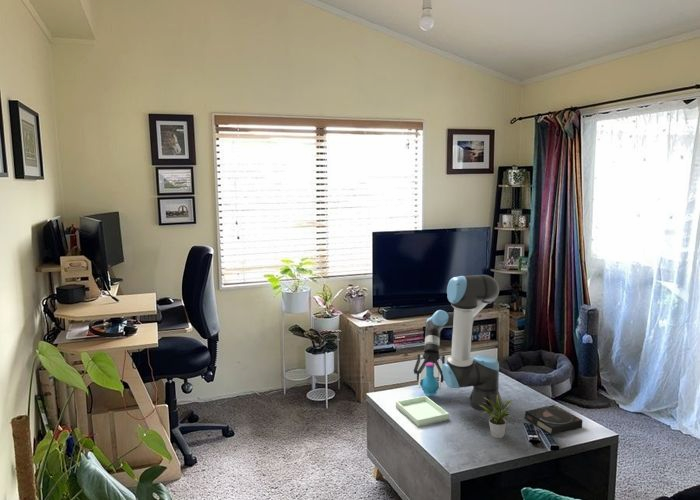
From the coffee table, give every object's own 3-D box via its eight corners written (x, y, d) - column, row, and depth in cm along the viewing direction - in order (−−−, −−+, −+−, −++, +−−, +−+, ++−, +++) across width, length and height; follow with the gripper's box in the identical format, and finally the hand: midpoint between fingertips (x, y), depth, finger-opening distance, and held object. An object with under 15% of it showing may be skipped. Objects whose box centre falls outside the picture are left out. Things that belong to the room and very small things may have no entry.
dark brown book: (524, 419, 232) (524, 411, 231) (554, 412, 238) (554, 404, 237) (550, 436, 216) (551, 427, 216) (582, 428, 222) (582, 420, 222)
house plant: (502, 423, 228) (503, 388, 225) (523, 437, 215) (524, 400, 213) (475, 429, 223) (475, 393, 220) (495, 444, 210) (495, 406, 207)
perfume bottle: (441, 395, 252) (441, 366, 250) (422, 396, 252) (422, 367, 250) (436, 388, 261) (436, 359, 259) (418, 389, 261) (418, 360, 259)
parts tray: (448, 419, 232) (448, 413, 232) (417, 426, 226) (417, 420, 226) (425, 401, 251) (425, 395, 251) (395, 407, 246) (395, 401, 245)
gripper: (453, 350, 266) (452, 392, 253) (411, 348, 272) (407, 389, 258) (453, 343, 261) (451, 386, 247) (410, 341, 266) (406, 383, 253)
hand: (429, 387), depth 253 cm, fingers closed on perfume bottle, 9 cm apart
